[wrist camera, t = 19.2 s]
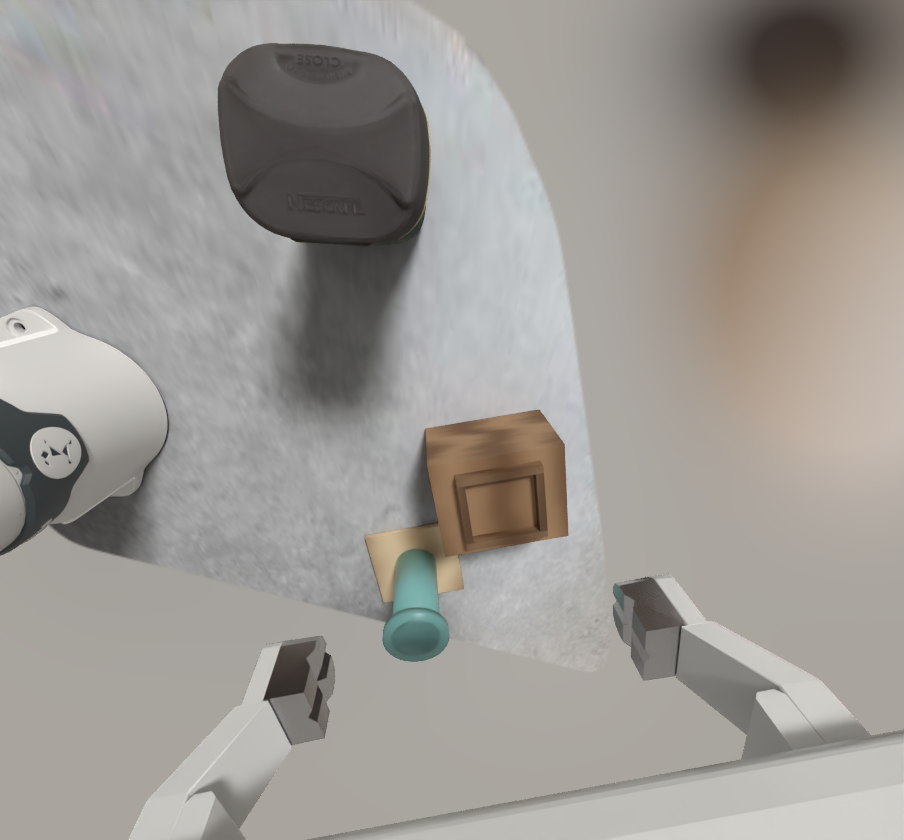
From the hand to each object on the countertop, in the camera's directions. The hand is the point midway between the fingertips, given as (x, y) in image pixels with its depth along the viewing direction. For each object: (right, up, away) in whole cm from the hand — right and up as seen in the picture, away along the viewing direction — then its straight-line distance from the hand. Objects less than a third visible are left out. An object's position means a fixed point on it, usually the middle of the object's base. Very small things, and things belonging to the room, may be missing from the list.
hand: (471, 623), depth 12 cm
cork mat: (-5, -11, +38) cm, 40 cm away
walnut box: (+3, +1, +34) cm, 34 cm away
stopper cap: (-5, -11, +38) cm, 40 cm away
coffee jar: (-8, +25, +23) cm, 34 cm away
